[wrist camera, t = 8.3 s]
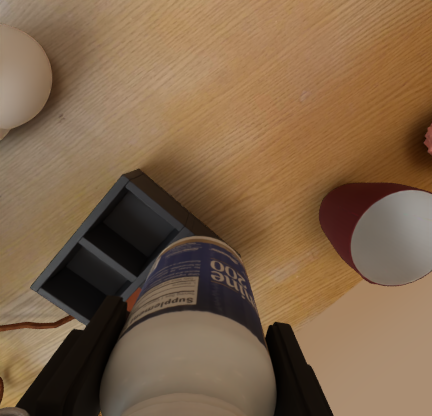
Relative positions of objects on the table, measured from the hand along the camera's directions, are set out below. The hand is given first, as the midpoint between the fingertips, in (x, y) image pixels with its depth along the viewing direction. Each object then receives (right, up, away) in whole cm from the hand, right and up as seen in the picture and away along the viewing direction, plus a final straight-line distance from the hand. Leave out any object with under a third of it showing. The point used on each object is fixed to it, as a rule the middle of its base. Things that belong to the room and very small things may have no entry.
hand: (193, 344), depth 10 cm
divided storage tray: (-7, -1, +20) cm, 22 cm away
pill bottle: (0, +1, +5) cm, 5 cm away
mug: (+15, +4, +20) cm, 25 cm away
